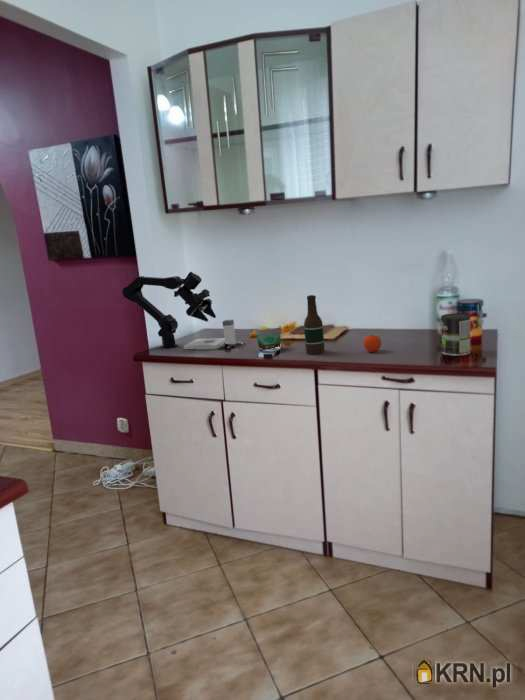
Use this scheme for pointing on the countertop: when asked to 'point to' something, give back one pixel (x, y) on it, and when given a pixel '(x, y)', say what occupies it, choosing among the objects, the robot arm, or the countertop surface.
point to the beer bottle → (313, 329)
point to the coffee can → (455, 334)
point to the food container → (268, 338)
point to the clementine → (372, 343)
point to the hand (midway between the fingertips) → (211, 319)
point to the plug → (229, 332)
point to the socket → (205, 343)
